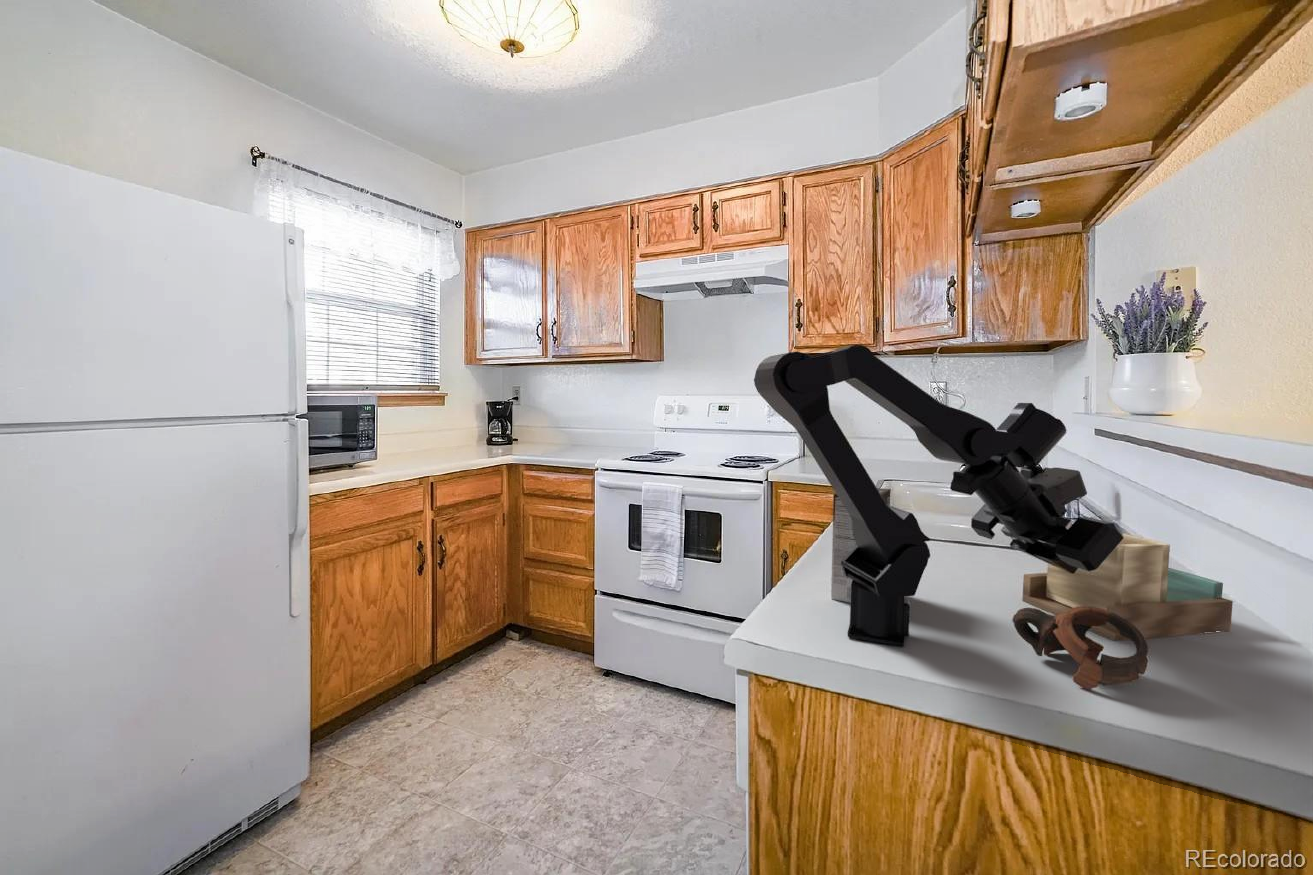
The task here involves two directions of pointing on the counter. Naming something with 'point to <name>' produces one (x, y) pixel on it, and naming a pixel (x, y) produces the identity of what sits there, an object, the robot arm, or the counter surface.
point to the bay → (1154, 607)
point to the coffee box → (844, 547)
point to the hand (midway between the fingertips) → (1073, 570)
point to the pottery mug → (1084, 643)
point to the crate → (1115, 577)
